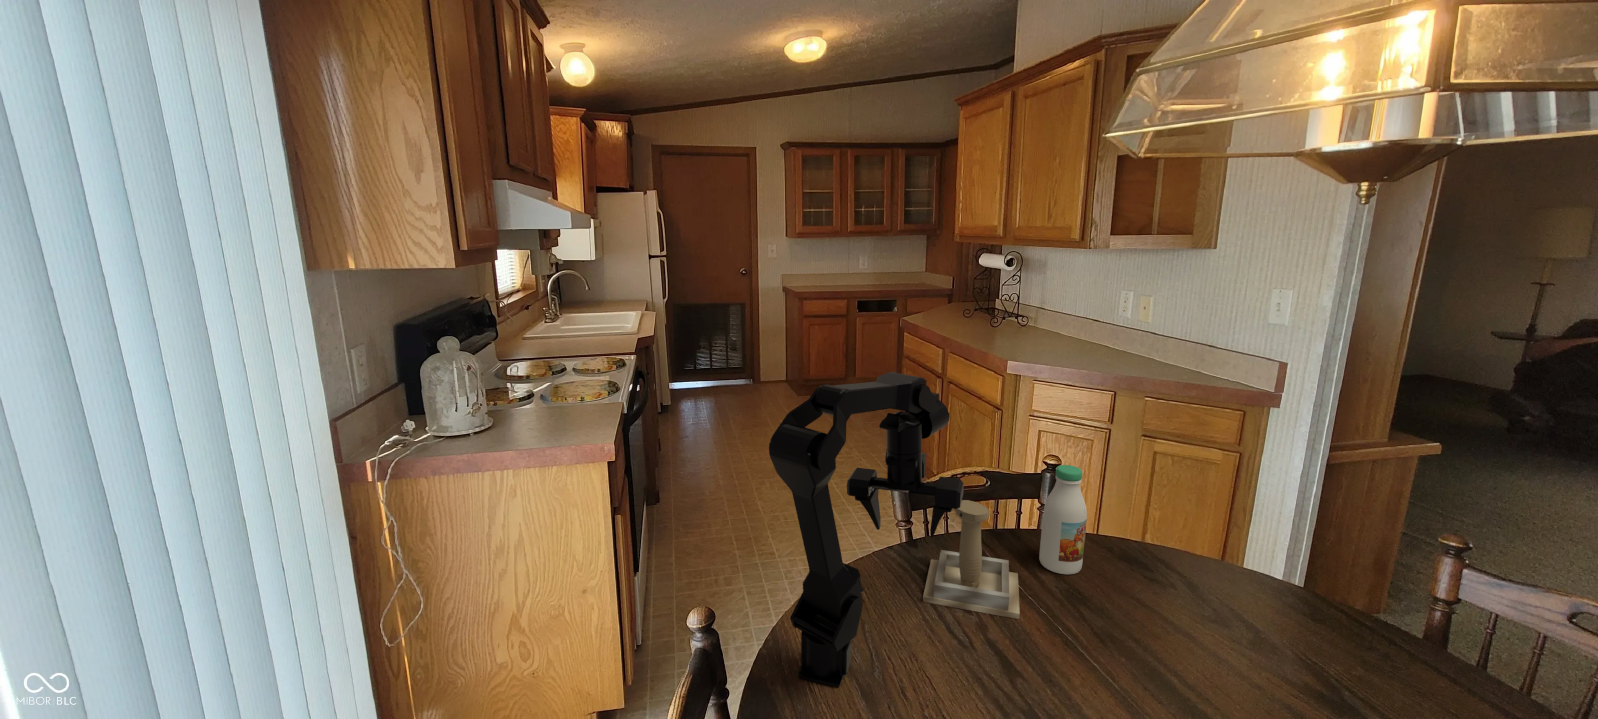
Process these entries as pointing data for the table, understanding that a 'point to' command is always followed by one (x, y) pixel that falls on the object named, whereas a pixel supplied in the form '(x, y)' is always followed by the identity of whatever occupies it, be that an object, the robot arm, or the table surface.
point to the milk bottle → (1064, 523)
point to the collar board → (990, 597)
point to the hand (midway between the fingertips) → (905, 532)
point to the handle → (971, 541)
